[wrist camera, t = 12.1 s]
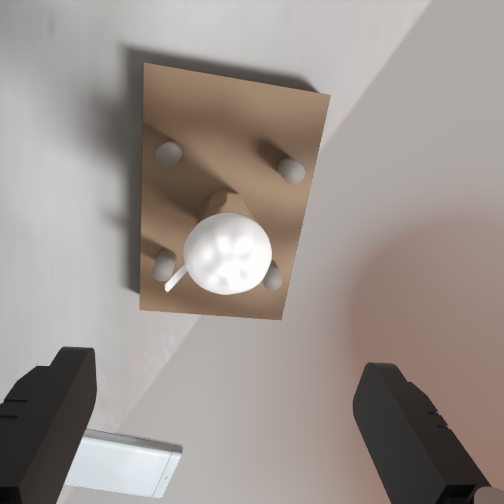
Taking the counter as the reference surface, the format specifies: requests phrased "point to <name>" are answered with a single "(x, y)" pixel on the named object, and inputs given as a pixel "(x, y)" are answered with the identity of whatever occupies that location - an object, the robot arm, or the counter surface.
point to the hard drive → (124, 463)
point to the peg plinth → (223, 179)
